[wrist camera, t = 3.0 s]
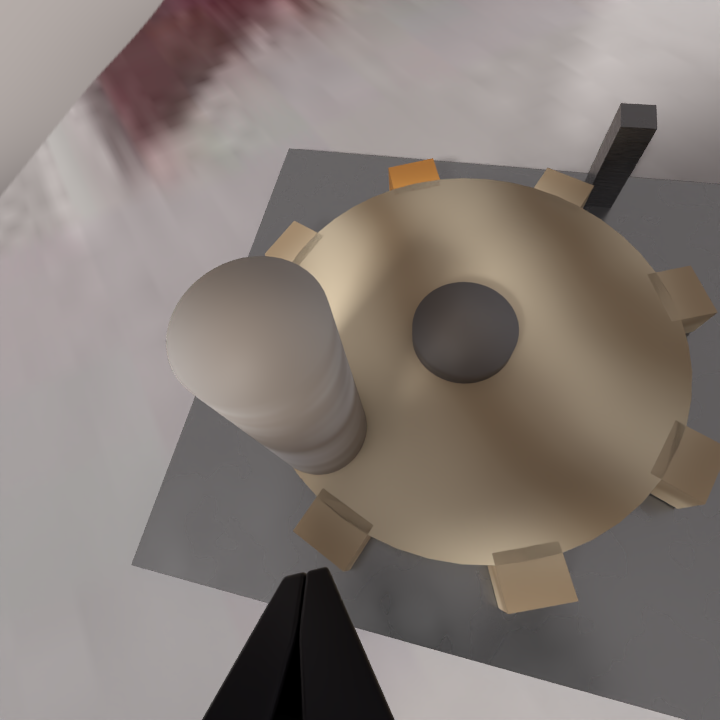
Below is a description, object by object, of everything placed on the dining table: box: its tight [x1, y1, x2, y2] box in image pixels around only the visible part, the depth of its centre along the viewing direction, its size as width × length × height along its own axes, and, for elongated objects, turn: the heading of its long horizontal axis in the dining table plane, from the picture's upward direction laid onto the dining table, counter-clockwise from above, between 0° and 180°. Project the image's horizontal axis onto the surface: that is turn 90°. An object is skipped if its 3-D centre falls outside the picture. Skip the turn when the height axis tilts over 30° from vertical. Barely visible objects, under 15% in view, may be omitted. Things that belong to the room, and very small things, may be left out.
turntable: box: [166, 158, 720, 614], centre depth 13 cm, size 17×17×9 cm
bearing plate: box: [132, 103, 720, 720], centre depth 16 cm, size 20×20×4 cm
